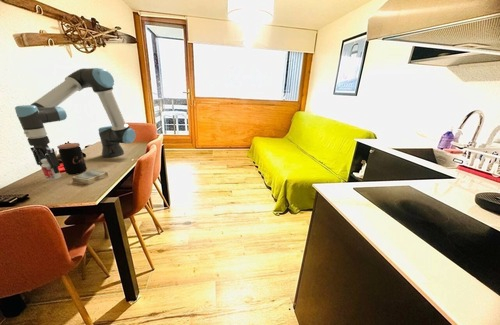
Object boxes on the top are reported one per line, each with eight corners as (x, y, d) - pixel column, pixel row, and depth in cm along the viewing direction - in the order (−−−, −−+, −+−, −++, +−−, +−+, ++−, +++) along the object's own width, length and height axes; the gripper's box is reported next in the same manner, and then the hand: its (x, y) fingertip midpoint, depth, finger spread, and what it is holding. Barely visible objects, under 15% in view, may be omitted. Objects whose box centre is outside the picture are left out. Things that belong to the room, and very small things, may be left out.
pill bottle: (50, 181, 107) (42, 162, 103) (43, 179, 109) (35, 160, 105) (64, 176, 113) (57, 158, 108) (57, 174, 115) (50, 156, 111)
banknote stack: (93, 174, 127) (92, 169, 126) (108, 176, 124) (107, 171, 123) (73, 182, 116) (71, 176, 115) (89, 184, 113) (87, 179, 112)
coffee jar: (78, 175, 125) (69, 147, 119) (61, 174, 125) (51, 147, 119) (91, 168, 135) (83, 143, 129) (75, 168, 135) (67, 142, 129)
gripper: (15, 137, 101) (33, 178, 110) (41, 140, 96) (58, 182, 105) (33, 133, 108) (49, 172, 116) (59, 136, 103) (73, 176, 112)
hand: (53, 177), depth 111 cm, fingers closed on pill bottle, 6 cm apart
